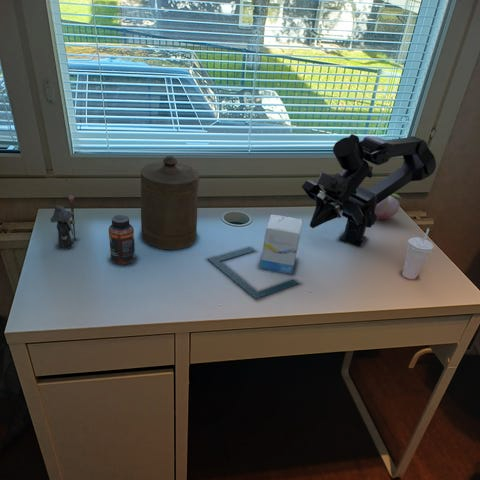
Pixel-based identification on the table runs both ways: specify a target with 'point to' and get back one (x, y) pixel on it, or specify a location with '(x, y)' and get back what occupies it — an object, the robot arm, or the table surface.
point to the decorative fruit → (388, 207)
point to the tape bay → (240, 282)
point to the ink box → (281, 243)
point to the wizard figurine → (64, 224)
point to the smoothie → (416, 255)
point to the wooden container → (169, 204)
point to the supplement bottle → (121, 240)
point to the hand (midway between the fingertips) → (311, 226)
